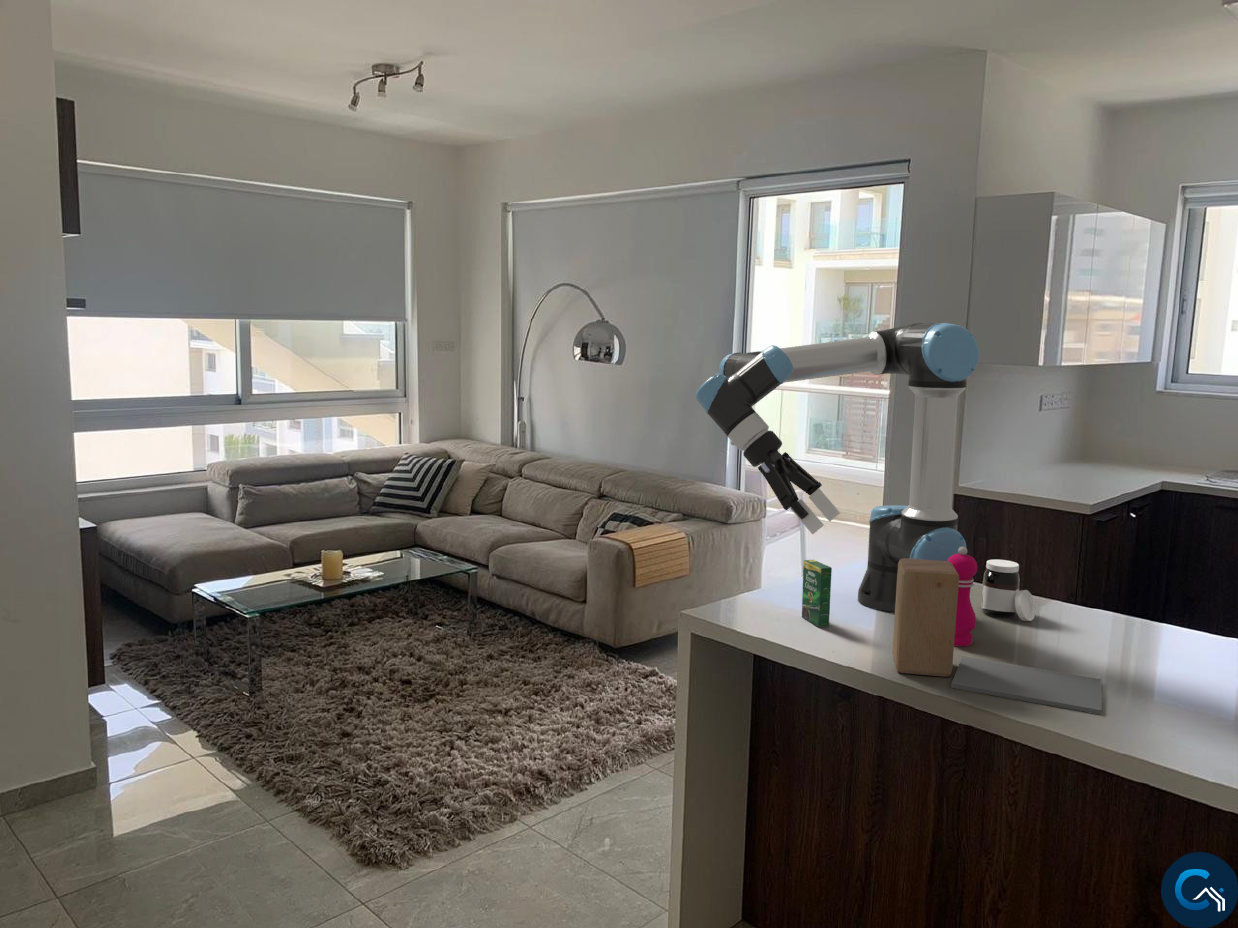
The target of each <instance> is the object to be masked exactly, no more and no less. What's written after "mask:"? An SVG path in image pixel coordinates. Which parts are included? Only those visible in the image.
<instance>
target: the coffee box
mask: <svg viewBox="0 0 1238 928" xmlns="http://www.w3.org/2000/svg"><path fill="white" fill-rule="evenodd" d="M802 565H803V568H802V593H801V595H802V599H801V601H802V602H801V617H802V618H803V619H804V620H806V621H808V622H810V623H811V624H813V626H815V627H817V628H828V627H829V626H830V611H831V610H830V609H831V589H832V573H833V571H832V567H831V566H828V565H826V564H824V563H822V562H819V561H817V560H816V559H805V560H803V564H802Z"/></svg>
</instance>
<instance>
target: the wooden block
mask: <svg viewBox="0 0 1238 928" xmlns="http://www.w3.org/2000/svg"><path fill="white" fill-rule="evenodd" d="M958 586H959V576H958V573H957V572H956V570H955V568H954V566H953V565H952V563H951V562H948V561H938V560H923V559H908V558H903V559H900V560H899V562H898V574H897V589H896V604H895V612H894V618H893V619H894V621H893V635H892V638H893V639H892V652H891V653H892V657H893V661H894V666H895V669H896V671H897V672H898V673H900V674H908V675H909V674H911V675H922V676H931V677H943V678H947V677H950V676H951V674H952V673H953V663H954V662H953V661H954V650H955V646H954V638H955V625H956V612H957V599H958Z"/></svg>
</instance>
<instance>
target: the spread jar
mask: <svg viewBox="0 0 1238 928" xmlns="http://www.w3.org/2000/svg"><path fill="white" fill-rule="evenodd" d="M985 567H986V569H985V571H984V573H983V579H982V590H981V592H982V593H981V602H980V604H981V605H980V607H981V611H982V612H983V613H984V614H985V615H988V616H992V617H997V618H1013V617H1015V616H1018V618H1019V619H1020V620H1021V621H1022V622H1032V621H1033V620H1034V619H1035V617H1036V603H1035V600H1034V597H1033V595H1032V593H1031V592H1030V591H1029V590H1028V589H1023V590H1022V589H1021V590H1020V581H1021V580H1020V574H1019V570H1020V564H1019V563H1018V562H1015V561H1012V560H1007V559H1006V560H1005V559H989V560H988V559H987V561H986V565H985Z"/></svg>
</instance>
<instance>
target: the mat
mask: <svg viewBox="0 0 1238 928" xmlns="http://www.w3.org/2000/svg"><path fill="white" fill-rule="evenodd" d="M950 688H952V689H957V690H961V691H962V690H963V691H968V692H972V693H979V694H982V695H983V694H984V695H990V696H995V697H1002V698H1007V699H1011V700H1018V701H1023V702H1029V703H1034V704H1035V703H1036V704H1039V705H1043V706H1044V705H1046V706H1051V707H1055V708H1057V707H1058V708H1061V709H1062V708H1063V709H1067V710H1074V711H1078V710H1079V711H1078V712H1083V711H1085V712H1084V713H1089V712H1091V713H1090V714H1094V713H1097V714H1096V715H1100V714H1101V715H1102V709H1103V708H1102V707H1103V706H1102V679H1101V678H1097V677H1090V676H1087V675H1086V676H1085V675H1079V674H1074V673H1073V674H1072V673H1067V672H1060V671H1055V670H1048V669H1043V668H1037V667H1031V666H1025V665H1018V664H1013V663H1006V662H1002V661H1001V662H1000V661H994V660H989V659H982V658H977V657H971V656H964V655H962V656H961V659H960V662H959V664H958V665H957V668H956V672H955V673H954V676H953V679H952V681H951V687H950Z"/></svg>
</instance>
